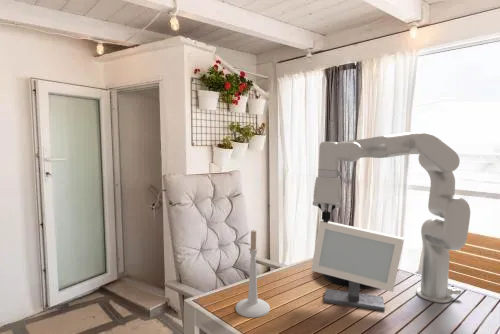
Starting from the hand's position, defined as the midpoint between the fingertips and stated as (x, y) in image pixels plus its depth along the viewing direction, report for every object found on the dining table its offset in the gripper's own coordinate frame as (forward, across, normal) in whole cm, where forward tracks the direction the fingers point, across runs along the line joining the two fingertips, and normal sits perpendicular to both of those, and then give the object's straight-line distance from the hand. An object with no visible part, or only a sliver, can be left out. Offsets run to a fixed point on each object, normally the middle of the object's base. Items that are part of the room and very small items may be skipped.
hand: (326, 221), depth 127 cm
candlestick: (+32, +24, +14) cm, 43 cm away
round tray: (+32, -11, -30) cm, 45 cm away
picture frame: (+22, -10, 0) cm, 24 cm away
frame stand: (+32, -12, -4) cm, 34 cm away
